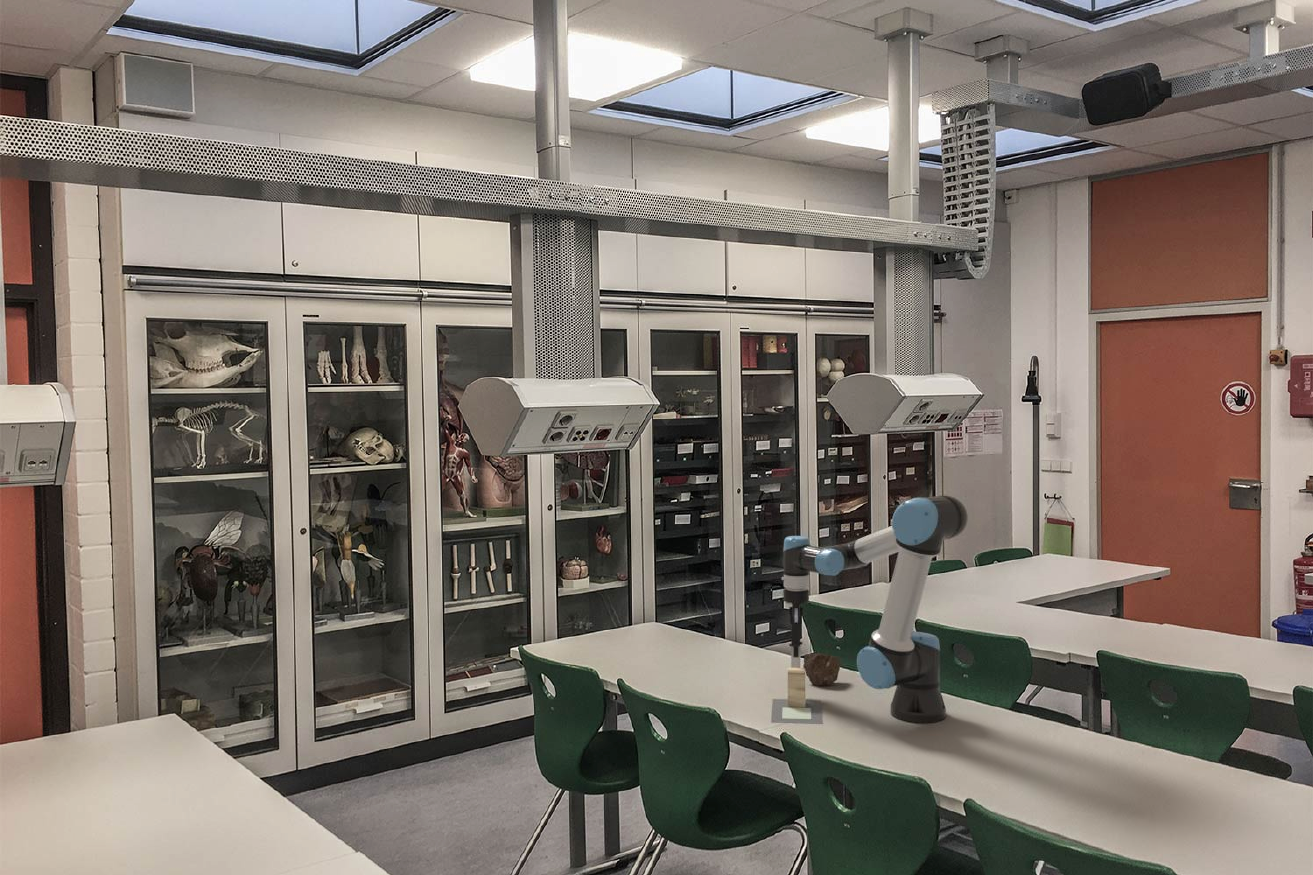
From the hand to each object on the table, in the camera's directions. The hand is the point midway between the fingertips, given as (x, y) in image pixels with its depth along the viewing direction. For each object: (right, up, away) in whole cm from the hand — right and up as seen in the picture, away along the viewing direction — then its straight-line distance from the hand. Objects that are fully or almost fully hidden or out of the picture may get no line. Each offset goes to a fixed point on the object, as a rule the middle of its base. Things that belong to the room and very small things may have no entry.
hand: (795, 666), depth 308 cm
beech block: (-1, -9, -9) cm, 13 cm away
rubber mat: (-2, -10, -15) cm, 18 cm away
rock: (+10, -9, +13) cm, 18 cm away
